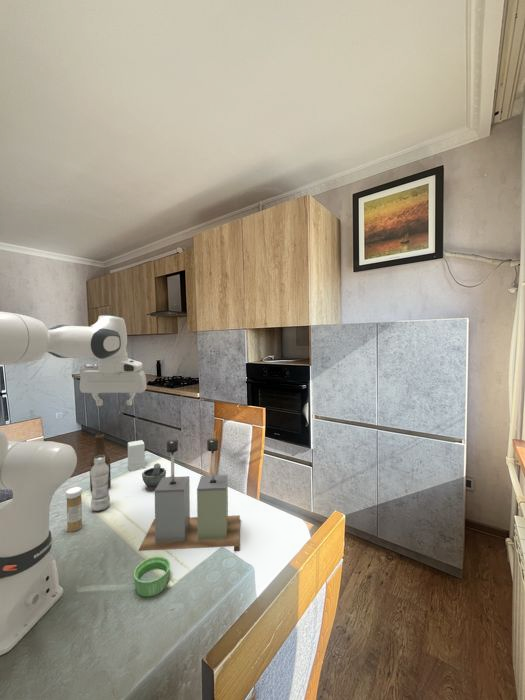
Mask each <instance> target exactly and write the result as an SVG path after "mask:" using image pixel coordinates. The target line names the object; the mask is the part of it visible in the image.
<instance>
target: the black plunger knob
mask: <svg viewBox="0 0 525 700" xmlns="http://www.w3.org/2000/svg"><path fill="white" fill-rule="evenodd" d="M206 450H207V451H208V452H210V458H211V461H210V462H211V463H210V465H211V467H210V468H211V474H210V476H211V478H212V483H215V452H217V451H218V450H219V439H218V438H213V437H212V438H209V439H207V440H206Z"/></svg>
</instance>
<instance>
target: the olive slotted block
mask: <svg viewBox="0 0 525 700" xmlns="http://www.w3.org/2000/svg"><path fill="white" fill-rule="evenodd" d="M228 478H229V476H228V474H222V475H221V474H218V475H215V483H212V478H211V475H201V476H200V479H199V482H198V484H197V489H196V501H197V502H196V503H197V504H196V505H197V506H196V507H197V508H196V509H197V511H196V513H197V515H196V517H197V528H198V540H213V539H227V527H228V516H229V506H228V505H229V500H228V499H229V495H228V493H229V492H228V490H229V489H228V488H229V487H228V484H229V483H228V481H229V480H228Z"/></svg>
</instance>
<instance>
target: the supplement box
mask: <svg viewBox="0 0 525 700" xmlns="http://www.w3.org/2000/svg"><path fill="white" fill-rule="evenodd" d="M145 446H146V444H145V442H144V441H143V440H142V439H139V440H134V441H130V442H129V441H128V442H127V468H128V471H129V472H132V470H133V471H137V470H136V469H138V470H141V469H140V468H143V469H145V468H146V461H145V459H146V458H145V457H146V453H145V450H146V449H145Z"/></svg>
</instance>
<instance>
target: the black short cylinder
mask: <svg viewBox="0 0 525 700" xmlns="http://www.w3.org/2000/svg"><path fill="white" fill-rule="evenodd" d="M178 451H179V439H169V440H167V441H166V452H167V453H170V475H171V476H170V477H171V485H172V484H174V477H175V452H178Z"/></svg>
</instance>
